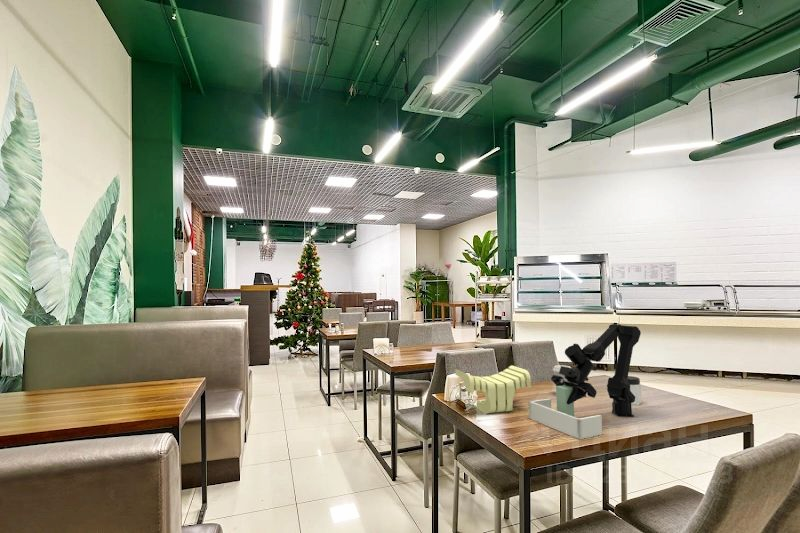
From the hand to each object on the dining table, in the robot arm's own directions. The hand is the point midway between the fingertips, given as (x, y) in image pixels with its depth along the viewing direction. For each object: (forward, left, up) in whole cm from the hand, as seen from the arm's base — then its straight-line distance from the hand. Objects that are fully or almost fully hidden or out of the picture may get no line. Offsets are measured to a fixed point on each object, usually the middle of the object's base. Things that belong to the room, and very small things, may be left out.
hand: (562, 402), depth 153 cm
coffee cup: (-16, -46, -10) cm, 50 cm away
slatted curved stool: (+24, -21, -10) cm, 34 cm away
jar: (-44, -35, -10) cm, 57 cm away
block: (-1, -1, -7) cm, 7 cm away
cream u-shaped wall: (-1, 0, -9) cm, 9 cm away
